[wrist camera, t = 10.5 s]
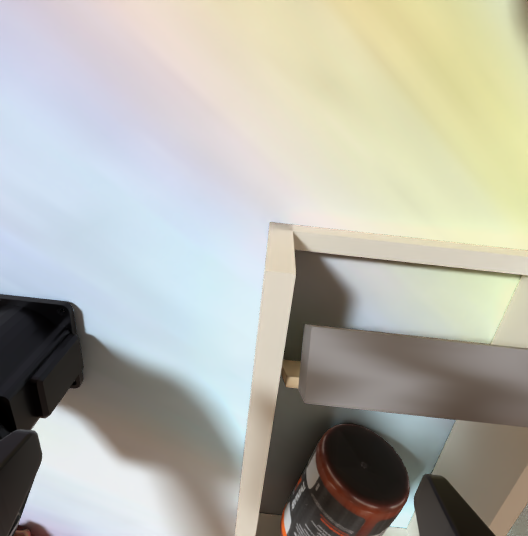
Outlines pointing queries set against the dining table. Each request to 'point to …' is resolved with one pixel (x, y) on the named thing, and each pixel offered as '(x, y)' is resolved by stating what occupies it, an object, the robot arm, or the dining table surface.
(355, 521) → the supplement bottle
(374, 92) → the dining table surface
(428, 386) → the trapdoor
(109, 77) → the dining table surface
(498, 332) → the frame
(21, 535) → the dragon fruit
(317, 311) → the dining table surface
